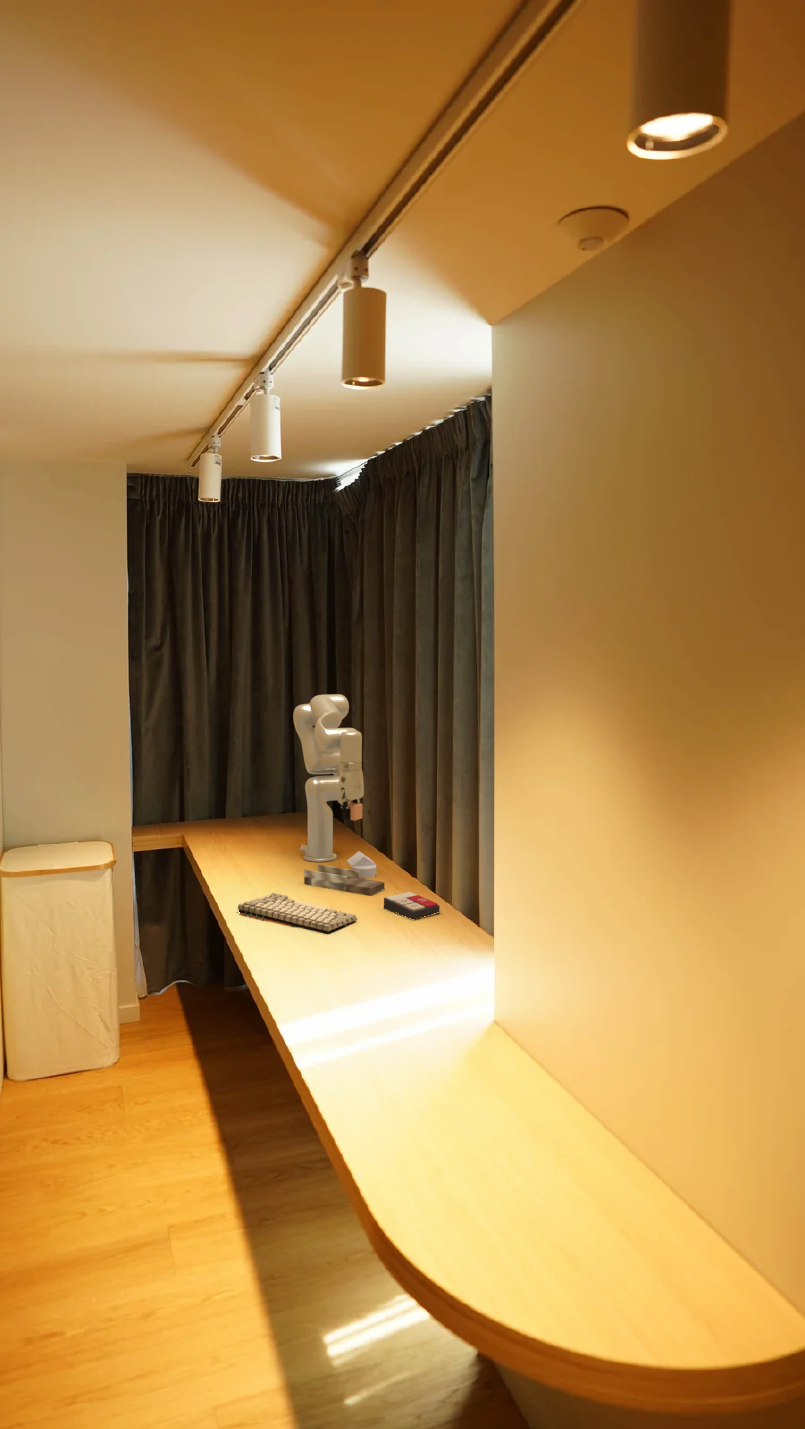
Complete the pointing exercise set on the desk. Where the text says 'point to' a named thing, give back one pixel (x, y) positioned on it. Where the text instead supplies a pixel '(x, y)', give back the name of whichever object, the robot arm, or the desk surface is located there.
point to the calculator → (411, 905)
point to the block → (355, 811)
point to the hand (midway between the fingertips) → (350, 817)
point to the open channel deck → (341, 880)
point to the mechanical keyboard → (295, 914)
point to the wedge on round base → (362, 865)
